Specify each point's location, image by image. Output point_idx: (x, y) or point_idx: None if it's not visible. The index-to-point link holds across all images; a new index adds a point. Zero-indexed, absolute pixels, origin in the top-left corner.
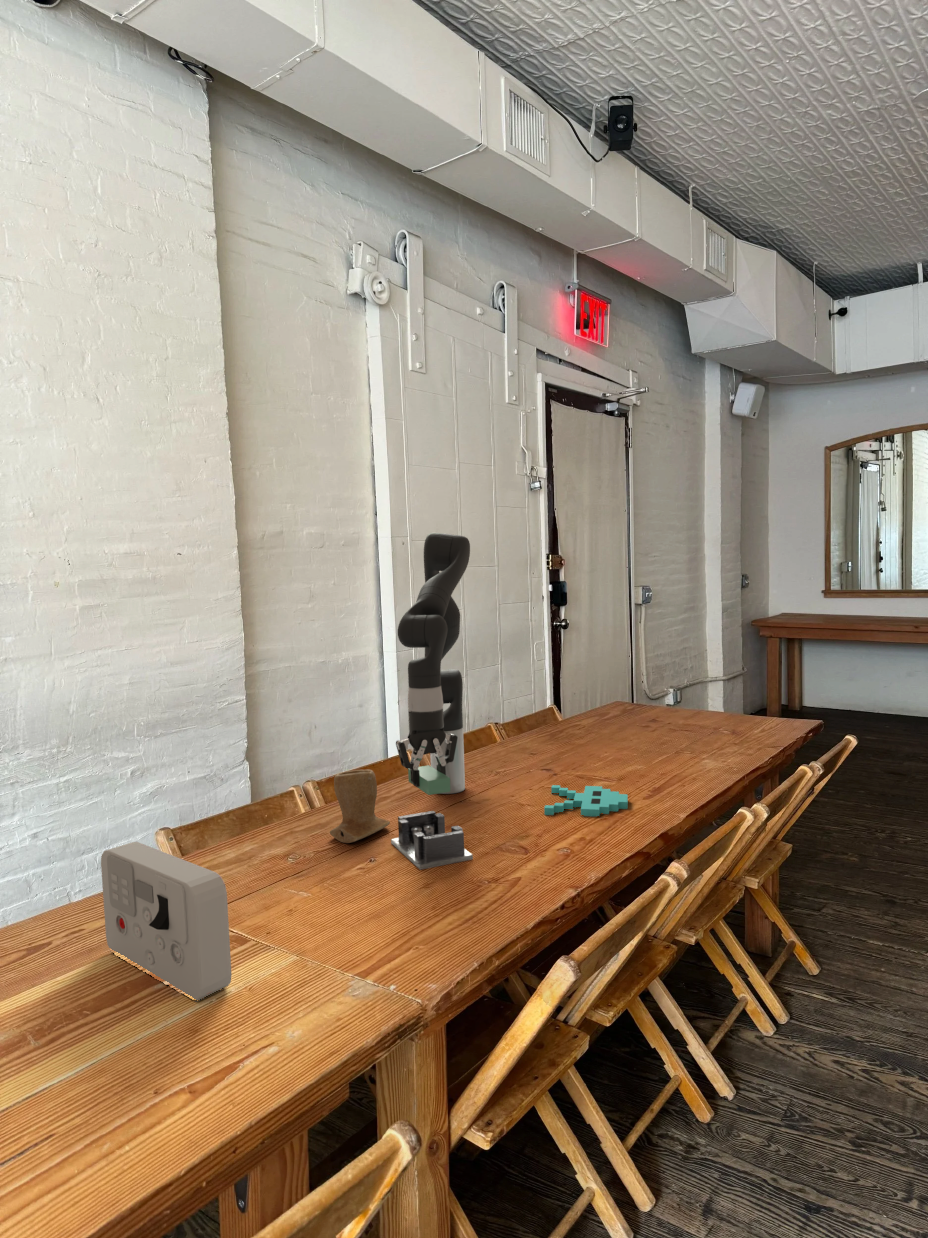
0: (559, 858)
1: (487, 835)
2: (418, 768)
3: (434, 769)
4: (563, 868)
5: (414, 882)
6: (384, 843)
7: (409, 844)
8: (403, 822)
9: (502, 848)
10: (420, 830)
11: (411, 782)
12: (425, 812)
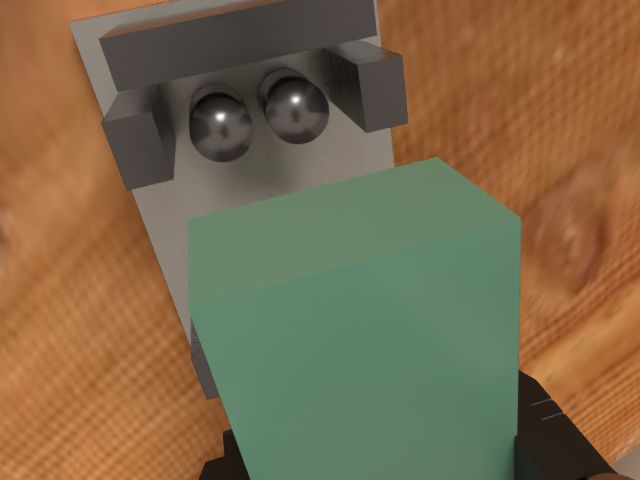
0: (636, 338)
1: (559, 57)
2: (339, 345)
3: (504, 413)
4: (601, 400)
5: (173, 447)
6: (29, 3)
7: (176, 144)
8: (138, 181)
9: (539, 225)
10: (243, 153)
11: (203, 471)
12: (311, 7)
